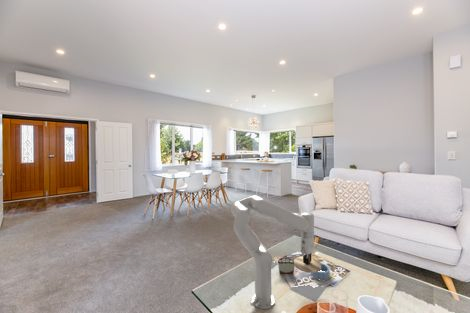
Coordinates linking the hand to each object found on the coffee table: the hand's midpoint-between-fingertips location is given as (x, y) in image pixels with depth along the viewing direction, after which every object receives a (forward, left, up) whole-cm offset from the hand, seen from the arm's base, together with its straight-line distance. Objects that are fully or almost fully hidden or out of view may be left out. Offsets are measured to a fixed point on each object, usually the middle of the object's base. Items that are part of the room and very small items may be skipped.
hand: (307, 262), depth 130 cm
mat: (0, 0, -18) cm, 18 cm away
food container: (+6, +19, -18) cm, 27 cm away
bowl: (+18, 0, -18) cm, 26 cm away
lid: (0, 0, -2) cm, 2 cm away
